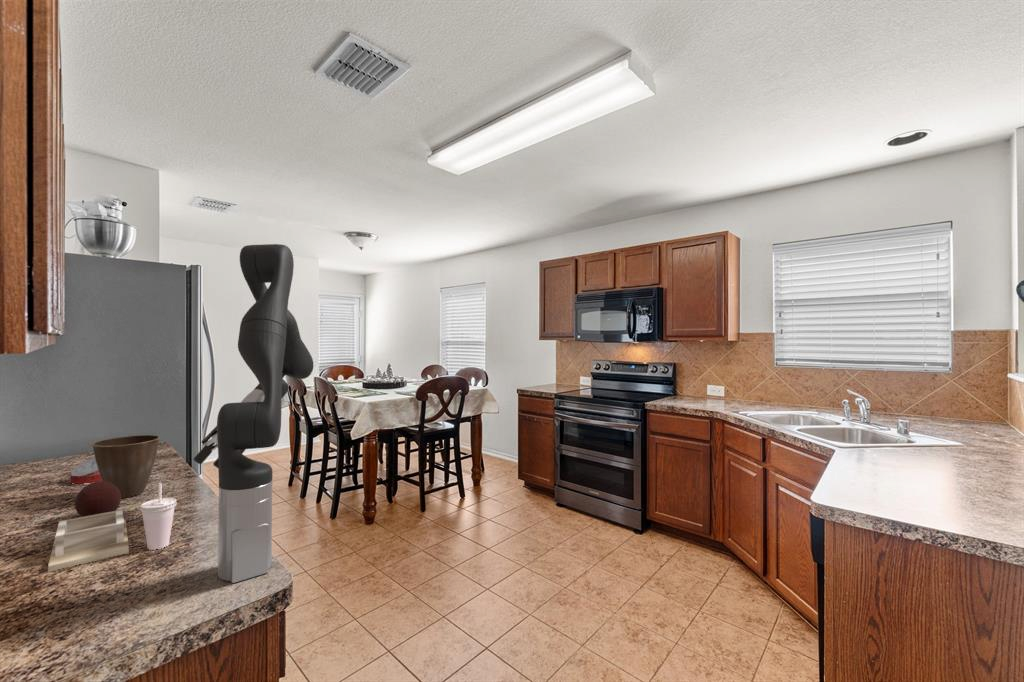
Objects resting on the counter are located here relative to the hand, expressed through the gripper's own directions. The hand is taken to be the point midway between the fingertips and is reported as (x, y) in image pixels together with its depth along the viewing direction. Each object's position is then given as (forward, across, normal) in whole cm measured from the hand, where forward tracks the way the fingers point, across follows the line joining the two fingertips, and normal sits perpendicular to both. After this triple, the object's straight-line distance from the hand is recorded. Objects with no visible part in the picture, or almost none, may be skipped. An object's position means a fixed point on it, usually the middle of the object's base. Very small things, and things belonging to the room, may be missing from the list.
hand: (206, 464), depth 108 cm
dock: (+23, -13, -1) cm, 27 cm away
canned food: (+9, -73, +14) cm, 75 cm away
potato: (+18, -32, +5) cm, 37 cm away
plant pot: (+9, -46, +13) cm, 49 cm away
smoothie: (+18, 0, +4) cm, 19 cm away
